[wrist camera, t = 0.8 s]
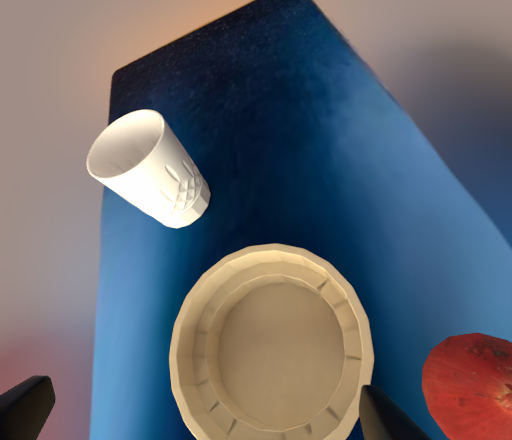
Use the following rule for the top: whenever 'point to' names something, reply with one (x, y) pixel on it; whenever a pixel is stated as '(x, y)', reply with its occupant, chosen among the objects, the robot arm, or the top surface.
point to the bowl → (271, 349)
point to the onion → (470, 387)
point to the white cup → (149, 168)
